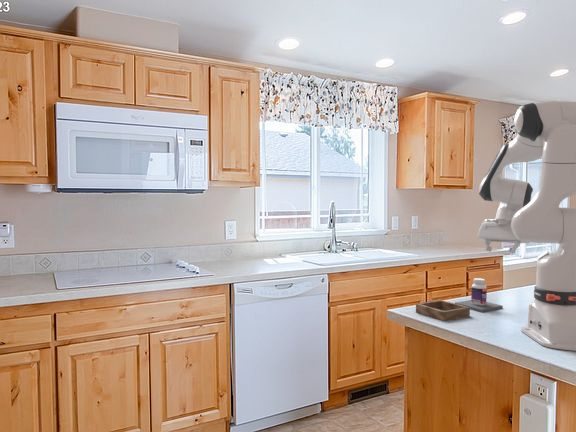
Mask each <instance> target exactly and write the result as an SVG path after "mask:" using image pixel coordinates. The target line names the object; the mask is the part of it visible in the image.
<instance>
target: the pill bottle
mask: <svg viewBox="0 0 576 432" xmlns="http://www.w3.org/2000/svg"><path fill="white" fill-rule="evenodd" d="M470 288H471V290H470V291H471V294H470V295H471V296H470V297H471V298H470V300H471V303H472V304H474V305H480V306H484V305H486V302H487V298H488V297H487V290H488V289H487V285H486V279H485V278H480V277H479V278H478V277H477V278H476V277H475V278H473V284H472V285H471V287H470Z"/></svg>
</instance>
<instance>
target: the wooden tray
mask: <svg viewBox="0 0 576 432" xmlns="http://www.w3.org/2000/svg"><path fill="white" fill-rule="evenodd" d="M470 311H471V309H470V307H466V306H462V305H458V304H455V302H450V301H446V300H443V299H437V300H432V301H426V302H420V303H415V313H418V314H421V315H423V316H424V315H425V316H427V317H431V318H434V319H437V320H439V321H450V320H455V319H461V318H465V317H470V316H471V315H470V314H471V312H470Z"/></svg>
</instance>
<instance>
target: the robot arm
mask: <svg viewBox="0 0 576 432" xmlns="http://www.w3.org/2000/svg"><path fill="white" fill-rule="evenodd" d="M513 121H514V122H513V124H514V130H515V132H516V136H515V137H514V139H513V140H511V141H510V142H508V143H505V144H504V145H502V147H501V148H500V149H499V151H498V153H497V154H496V156H495V158H494V161H492V164H491V166H490V168H489V169H488V171H487V173H486V174H485V176H484V177H483V179H482V180H481V182H480V184H479V186H478V195H479V196H480V197H481V199H483V200H484V201H488V202H496V203H499V205H498V208H497V209H496V214H495V218H494V219H493V218H492V219H489V218H488V219H485V220H484V221H482V222H481V224H480V227H479V229H478V233H477V235H476V236H477V238H478V239H479V241H481V242H484V245H485V251H486V252H489V253H491V252H492V250H493V247H491V246H490V245H491V244H492V242H493V243H509V244H511V243H513V245H512V246H511V247H509V250H508V252H509V253H510V254H515V253H516V250H517V249H518V248H519V247H520V245H521V244H530V243H534V244H559V245H558V247H557V250H555V252H553V254H550V255H547V256H545V257H543V258H542V259H540V260H539V262H538V263H537V262H536V263H537V264H536V273H535V275H536V276H535V278H536V281H535V282H536V283H535V286H534V290H533V298H534V300H533V301H532V302H531V303H529V304H528V309H527V320H526V321H527V322H526V326H523V327H521V329H520V330H521V332H522V333H523V334H525V335H526V336H528V337H529V338H531V339H533V340H534V341H535V342H536V343H538V344H539V345H541V346H543V347H545V348H546V347H547V348H551V349H557V350H566V351H572V352H573V351H574V352H575V351H576V207H560V205H561V203H562V202H563V201H564V200H565V199H567V198H569V197H572V196H573V195H576V101H565V100H562V101H557V100H551V101H541V102H535V103H534V102H530V103H525V104H523V105H521V106H519V108H518V109H517V110H516V112H515V114H514V119H513ZM539 159H541V165H540V166H541V169H540V170H541V171H540V177H539V183H538V187H537V190H536V191H535V194H534V196H533V197H532V194H533V191H534V189H533V186H532V185H531V183H529V182H527V181H523V180H518V179H512V178H507V177H501V176H500V175H501V173H502V172H503V171H504V168H505V167H506V166H508V165H512V164H518V163H531V162H535V161H537V160H539Z"/></svg>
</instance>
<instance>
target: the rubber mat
mask: <svg viewBox="0 0 576 432" xmlns="http://www.w3.org/2000/svg"><path fill="white" fill-rule="evenodd" d="M454 304H458V305H462V306H466V307H470V311H476V312H479V313H485V312H486V313H487V312H489V311H496V310H500V309H503V305H501V304H497V303H493V302H489V301H486V305H484V306H480V305H474V304H472V303H471V299H470V300H469V299H468V300H463V301H457V302H454Z"/></svg>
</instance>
